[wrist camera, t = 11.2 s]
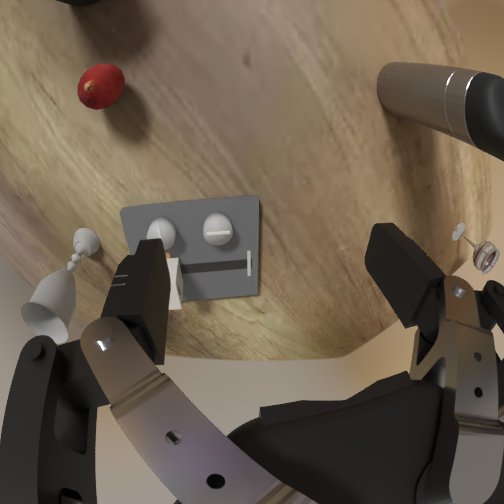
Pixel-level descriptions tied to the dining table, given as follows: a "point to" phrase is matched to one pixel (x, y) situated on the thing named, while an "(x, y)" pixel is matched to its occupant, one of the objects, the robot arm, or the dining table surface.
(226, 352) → the dining table surface
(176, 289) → the block
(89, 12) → the dining table surface
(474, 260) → the wineglass
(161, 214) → the console
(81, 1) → the pen holder
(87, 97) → the onion
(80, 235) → the chalice
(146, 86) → the dining table surface
